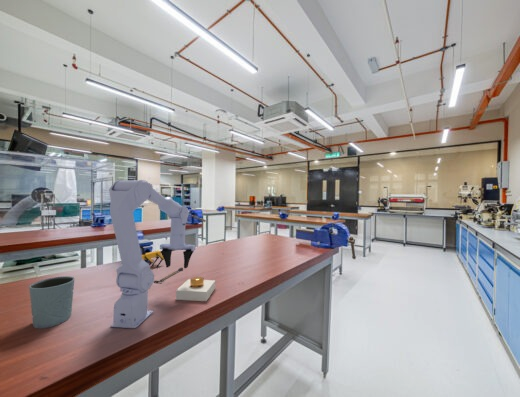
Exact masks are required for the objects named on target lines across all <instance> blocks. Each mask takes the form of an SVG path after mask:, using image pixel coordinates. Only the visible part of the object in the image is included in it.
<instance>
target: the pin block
mask: <svg viewBox="0 0 520 397" xmlns="http://www.w3.org/2000/svg"><path fill="white" fill-rule="evenodd" d="M190 279H191V278H189V279H188V278H187V280H185V282H184V283H182V284H181V285H180V286H179V287H178V288H177V289H176V290H175V300H176V301H192V302H193V301H196V302H197V301H198V302H207V301H208V300H209V298H210V297H211V295H212V294H213V292H214V291H215V290H216V279H213V280H212V279H204V285H203V286H201V287H197V288H194V287H191V286H190Z"/></svg>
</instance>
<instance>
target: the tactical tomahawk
mask: <svg viewBox="0 0 520 397" xmlns="http://www.w3.org/2000/svg"><path fill="white" fill-rule="evenodd" d="M182 270H184V267H180V268H178V269H177V270H176V271H173V272H172V273H170V274H168V275H167V276H164V277H163V278H161V279H160V280H154V282H153V284H154V283H155V284H159V285H161V284H163V282H165V280H167V279H169V278H171V277H172V276H175V275H176V274H178V273H180V272H181V271H182Z"/></svg>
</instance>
